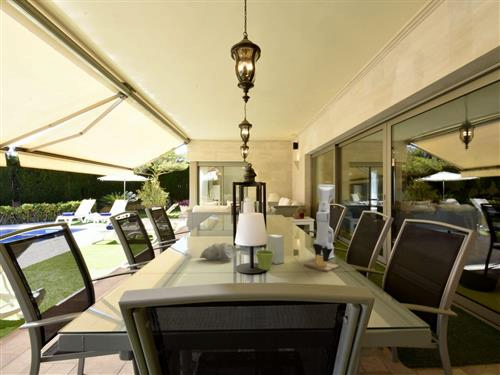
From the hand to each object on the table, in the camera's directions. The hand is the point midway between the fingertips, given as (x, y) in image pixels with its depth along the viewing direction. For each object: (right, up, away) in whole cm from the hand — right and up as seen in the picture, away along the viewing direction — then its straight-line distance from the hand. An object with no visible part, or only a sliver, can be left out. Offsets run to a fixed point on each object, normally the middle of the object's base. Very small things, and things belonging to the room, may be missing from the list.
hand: (321, 259), depth 151 cm
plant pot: (-31, -3, -8) cm, 32 cm away
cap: (0, -3, 0) cm, 3 cm away
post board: (0, -4, 0) cm, 4 cm away
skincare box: (-24, -3, +7) cm, 25 cm away
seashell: (-56, -3, +7) cm, 57 cm away
